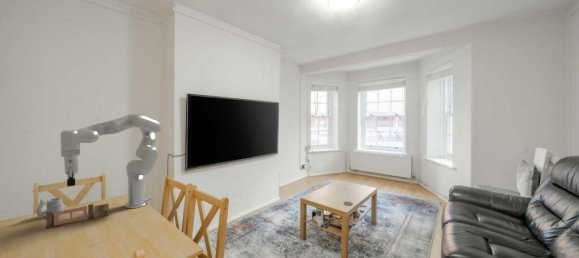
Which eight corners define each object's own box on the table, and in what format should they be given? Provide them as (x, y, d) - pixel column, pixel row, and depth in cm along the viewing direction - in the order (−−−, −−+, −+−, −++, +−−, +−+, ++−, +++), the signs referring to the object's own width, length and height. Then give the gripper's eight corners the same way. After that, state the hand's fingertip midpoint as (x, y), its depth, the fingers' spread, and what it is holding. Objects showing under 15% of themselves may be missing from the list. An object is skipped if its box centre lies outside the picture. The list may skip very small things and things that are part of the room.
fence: (108, 213, 142) (108, 200, 141) (108, 215, 139) (108, 202, 139) (47, 226, 124) (46, 211, 124) (46, 229, 121) (45, 213, 121)
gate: (87, 217, 134) (86, 206, 134) (87, 218, 133) (86, 206, 132) (54, 224, 125) (53, 212, 124) (53, 225, 124) (53, 212, 123)
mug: (66, 213, 140) (66, 194, 139) (41, 221, 129) (40, 201, 128) (59, 211, 142) (58, 193, 142) (33, 219, 131) (32, 199, 130)
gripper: (79, 154, 120) (80, 187, 121) (80, 150, 131) (80, 181, 132) (59, 155, 115) (60, 190, 116) (61, 151, 126) (62, 183, 127)
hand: (71, 185), depth 124 cm, fingers closed
